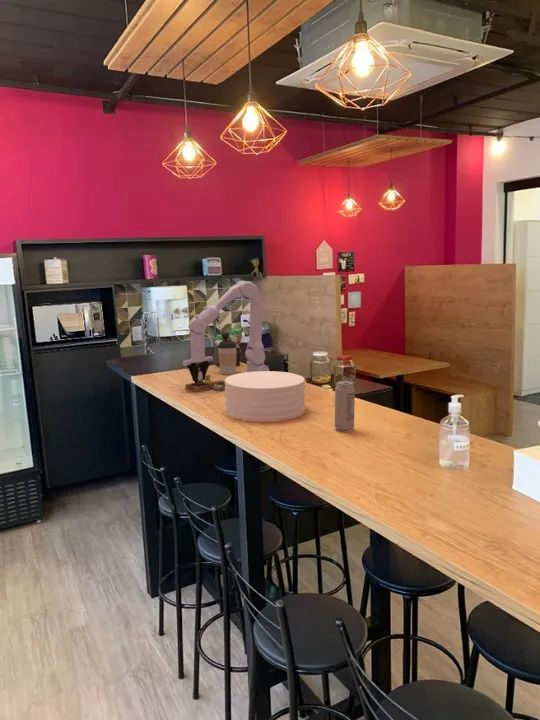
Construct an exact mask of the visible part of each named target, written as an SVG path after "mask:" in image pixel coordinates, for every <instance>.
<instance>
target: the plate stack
mask: <svg viewBox="0 0 540 720" xmlns="http://www.w3.org/2000/svg"><path fill="white" fill-rule="evenodd" d="M224 381H225V385H226V386H225V385H224V386H225V390H224V392H225V394H224V398H225V401H224V405H225V408H224V409H225V410H224V411H226V412H225V414H226V413H227V414H228V416H229V417H230V416H231V418H233V417H234V418H233V419H236V418H237V420H240V419H242V420H241V421H246V420H247V421H248V422H260V423H261V422H262V423H263V422H264V423H265V422H268V423H269V422H281V421H287V420H291V419H295V418H298V417H300V416H302V415H303V414H304V413H305V401H306V400H305V398H306V395H305V391H306V390H305V389H306V388H305V387H306V386H305V383H306V382H305V377H304V376H302V375H300V374H297V373H293V372H286V371H277V370H276V371H275V370H274V371H273V370H272V371H271V370H269V371H256V372H247V371H245V372H239V373H234V374H230V375H228V376H227V377H226V378H224ZM227 414H226V415H227ZM301 414H302V415H301Z"/></svg>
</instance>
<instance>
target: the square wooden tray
mask: <svg viewBox="0 0 540 720" xmlns="http://www.w3.org/2000/svg"><path fill="white" fill-rule="evenodd" d="M184 386H185V387H184V388H185V390H186V391H191V392H195V391H196V392H195V393H201V392H205V390H206V391H209V389H210V387H213V384H210V383H206V382H204V381H203V385H202V386H195V382H190V383H186V384H184ZM200 391H201V392H200Z"/></svg>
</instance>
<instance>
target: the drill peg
mask: <svg viewBox="0 0 540 720" xmlns="http://www.w3.org/2000/svg"><path fill="white" fill-rule="evenodd" d="M203 382H204V380H203V370H201V367H199V368H198V380H197V382H195V381H194V383H195V386H202V385H203Z"/></svg>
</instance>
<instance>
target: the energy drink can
mask: <svg viewBox="0 0 540 720" xmlns="http://www.w3.org/2000/svg"><path fill="white" fill-rule="evenodd" d="M355 389H356V388H355V386H354V382H353V381H348V380H341V381H338V382H337V384H336V386H335V388H334V428H336V431H338V430H339V431H338V432H341V431H349V432H351V431H350V430H352V431H353V429H354V428H355V402H356V399H355V397H356V395H355V394H356V393H355V392H356V390H355Z"/></svg>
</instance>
